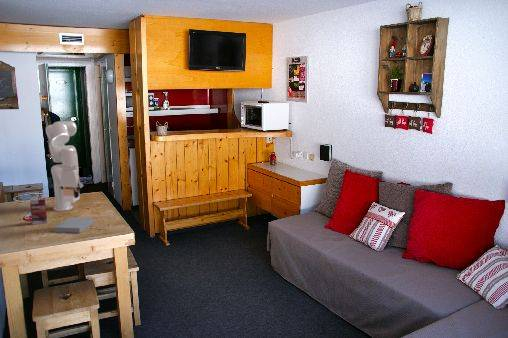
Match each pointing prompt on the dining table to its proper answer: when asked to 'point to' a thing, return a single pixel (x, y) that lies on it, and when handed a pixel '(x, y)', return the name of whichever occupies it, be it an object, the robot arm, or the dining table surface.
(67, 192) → the block
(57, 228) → the stand
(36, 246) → the dining table surface
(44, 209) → the supplement box
